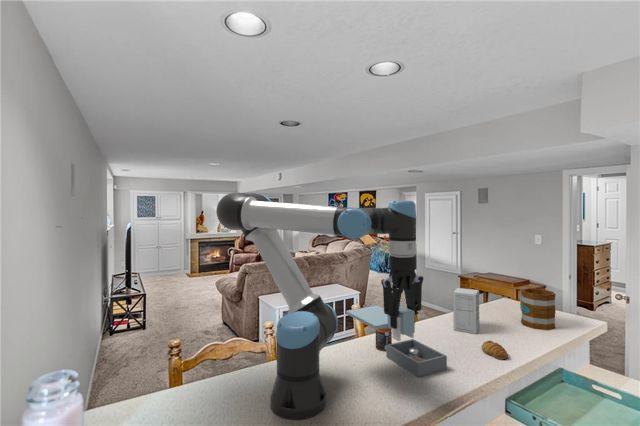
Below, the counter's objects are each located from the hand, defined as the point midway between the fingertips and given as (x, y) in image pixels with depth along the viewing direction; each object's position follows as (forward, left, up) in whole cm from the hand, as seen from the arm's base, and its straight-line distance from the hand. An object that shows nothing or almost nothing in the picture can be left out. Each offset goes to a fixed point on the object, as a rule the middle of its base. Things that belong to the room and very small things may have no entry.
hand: (403, 337), depth 97 cm
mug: (+93, +21, -17) cm, 97 cm away
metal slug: (+18, +16, -16) cm, 29 cm away
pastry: (+48, +7, -17) cm, 51 cm away
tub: (+16, +13, -16) cm, 26 cm away
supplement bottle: (+14, +28, -17) cm, 35 cm away
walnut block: (+13, +9, -16) cm, 23 cm away
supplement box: (+59, +29, -17) cm, 68 cm away
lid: (0, +9, +2) cm, 9 cm away
